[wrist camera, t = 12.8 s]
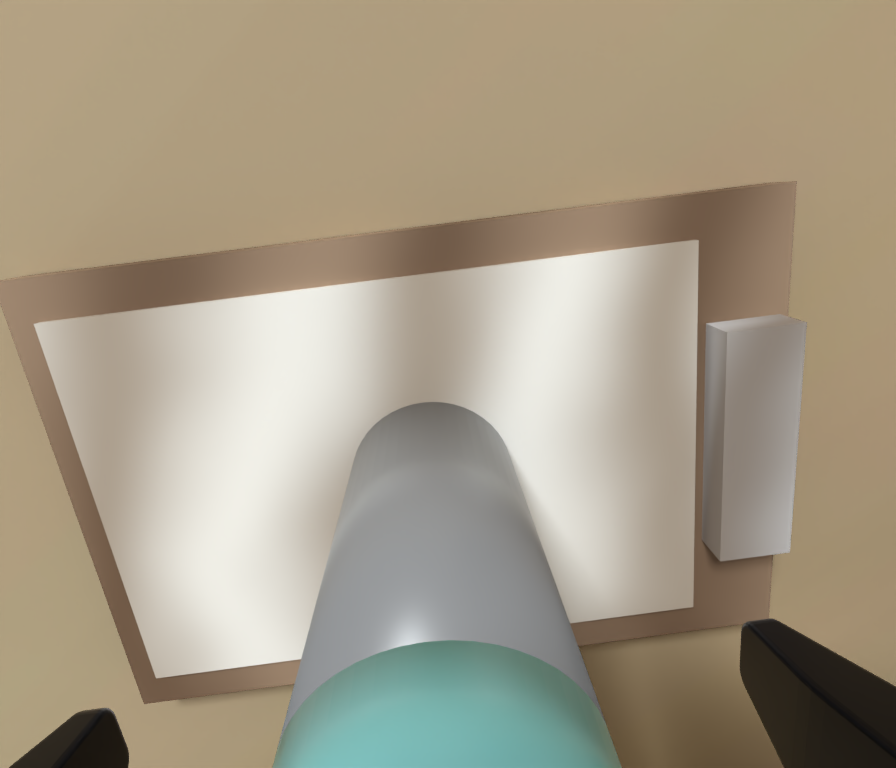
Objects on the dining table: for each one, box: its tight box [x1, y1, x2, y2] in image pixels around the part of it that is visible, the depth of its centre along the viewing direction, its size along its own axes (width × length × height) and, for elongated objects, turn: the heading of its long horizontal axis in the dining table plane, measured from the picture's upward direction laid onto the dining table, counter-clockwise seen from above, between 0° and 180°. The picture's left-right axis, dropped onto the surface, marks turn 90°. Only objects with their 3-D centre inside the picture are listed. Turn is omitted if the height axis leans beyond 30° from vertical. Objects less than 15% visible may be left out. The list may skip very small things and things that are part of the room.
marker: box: [272, 402, 622, 768], centre depth 10 cm, size 4×4×10 cm
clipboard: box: [0, 181, 807, 704], centre depth 15 cm, size 18×12×2 cm, turn 97°
